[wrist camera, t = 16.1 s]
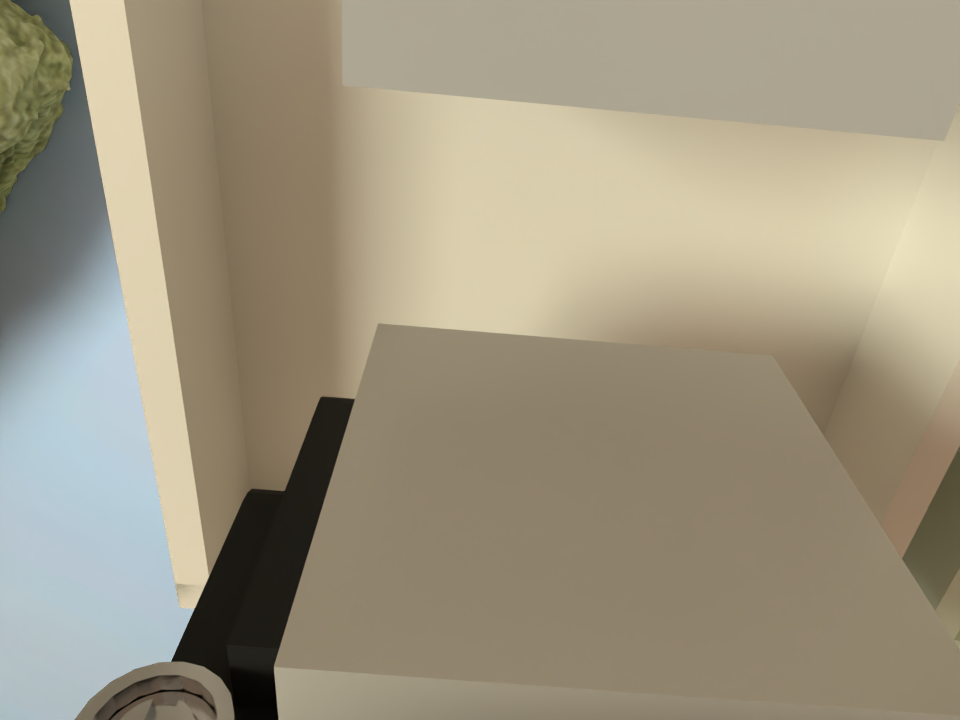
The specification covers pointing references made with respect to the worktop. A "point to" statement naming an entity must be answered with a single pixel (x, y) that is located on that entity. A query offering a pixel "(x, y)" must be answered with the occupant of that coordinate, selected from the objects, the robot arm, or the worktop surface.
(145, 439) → the worktop surface
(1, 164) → the washcloth
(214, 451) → the off-white dish
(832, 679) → the stone cube
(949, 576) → the sage tray
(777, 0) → the stone cube
